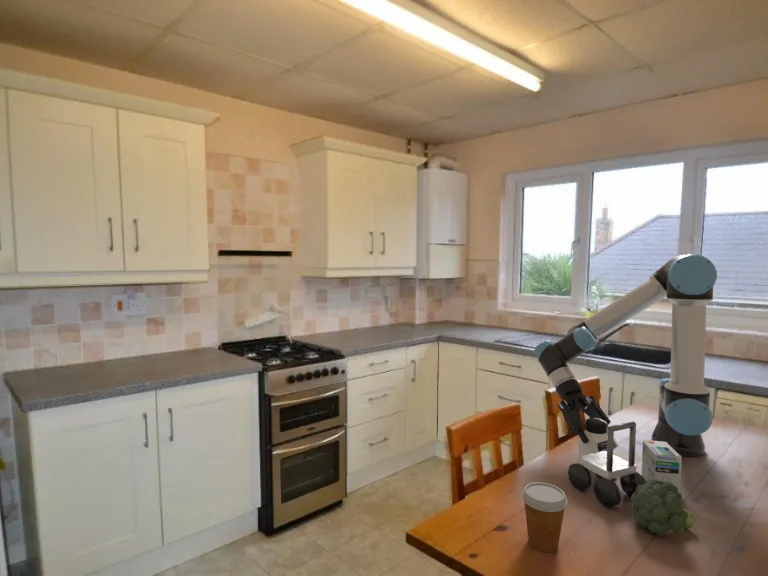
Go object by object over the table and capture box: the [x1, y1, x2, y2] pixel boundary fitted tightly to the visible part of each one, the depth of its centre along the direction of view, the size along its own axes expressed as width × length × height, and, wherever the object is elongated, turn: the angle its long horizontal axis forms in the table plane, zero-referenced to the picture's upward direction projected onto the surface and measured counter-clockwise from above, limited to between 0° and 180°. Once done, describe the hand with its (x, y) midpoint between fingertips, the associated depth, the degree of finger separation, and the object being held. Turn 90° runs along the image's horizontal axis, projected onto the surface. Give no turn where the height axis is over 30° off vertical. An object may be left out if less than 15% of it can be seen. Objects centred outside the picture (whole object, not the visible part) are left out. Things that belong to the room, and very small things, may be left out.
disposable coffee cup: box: [521, 481, 568, 553], centre depth 102 cm, size 10×10×12 cm
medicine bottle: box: [577, 417, 608, 457], centre depth 140 cm, size 7×7×12 cm
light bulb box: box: [641, 439, 683, 494], centre depth 128 cm, size 11×7×11 cm, turn 168°
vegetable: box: [630, 479, 696, 537], centre depth 108 cm, size 12×13×15 cm
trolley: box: [567, 421, 647, 509], centre depth 123 cm, size 11×16×21 cm
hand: (605, 450), depth 137 cm, fingers closed on medicine bottle, 7 cm apart
